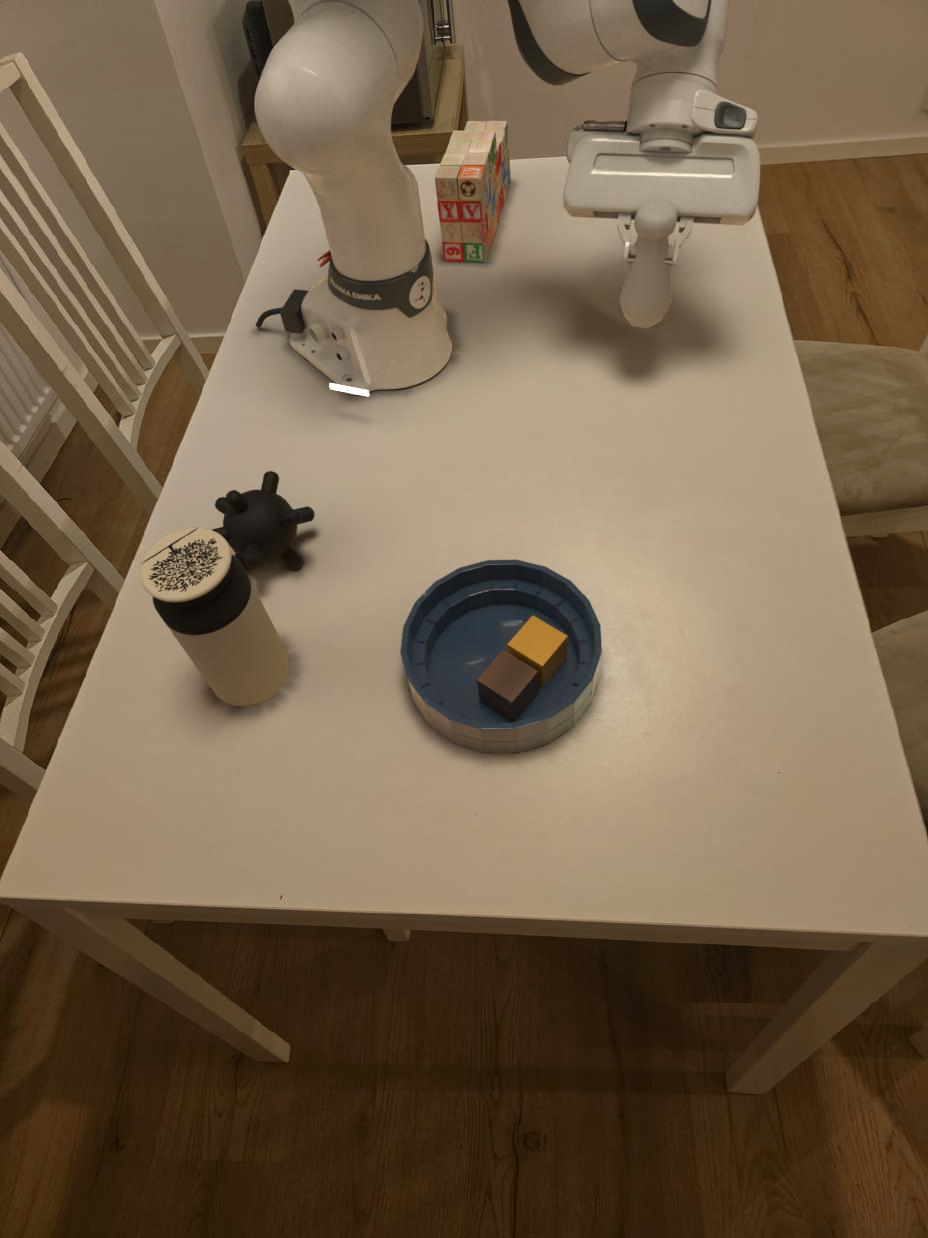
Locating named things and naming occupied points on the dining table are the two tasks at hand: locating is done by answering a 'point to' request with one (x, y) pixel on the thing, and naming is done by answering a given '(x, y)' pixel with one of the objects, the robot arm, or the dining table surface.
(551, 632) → the mustard block
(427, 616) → the bowl
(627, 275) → the salt shaker
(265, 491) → the toy ball
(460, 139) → the stack of blocks
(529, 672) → the walnut block
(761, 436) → the dining table surface
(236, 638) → the travel mug
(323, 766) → the dining table surface
